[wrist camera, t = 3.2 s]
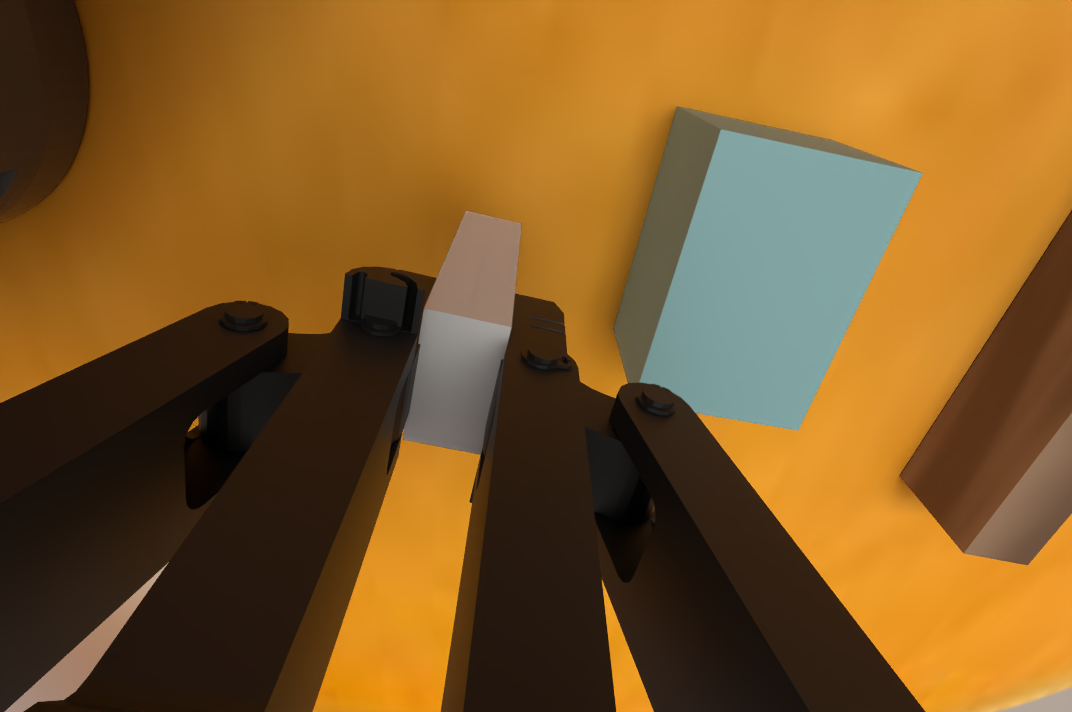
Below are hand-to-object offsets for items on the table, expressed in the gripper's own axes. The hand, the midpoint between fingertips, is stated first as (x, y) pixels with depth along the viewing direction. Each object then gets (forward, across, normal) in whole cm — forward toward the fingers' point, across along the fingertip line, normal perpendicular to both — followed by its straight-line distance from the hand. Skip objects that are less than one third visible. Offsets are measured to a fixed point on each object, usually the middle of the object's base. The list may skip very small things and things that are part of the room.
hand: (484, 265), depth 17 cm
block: (+8, +9, 0) cm, 12 cm away
